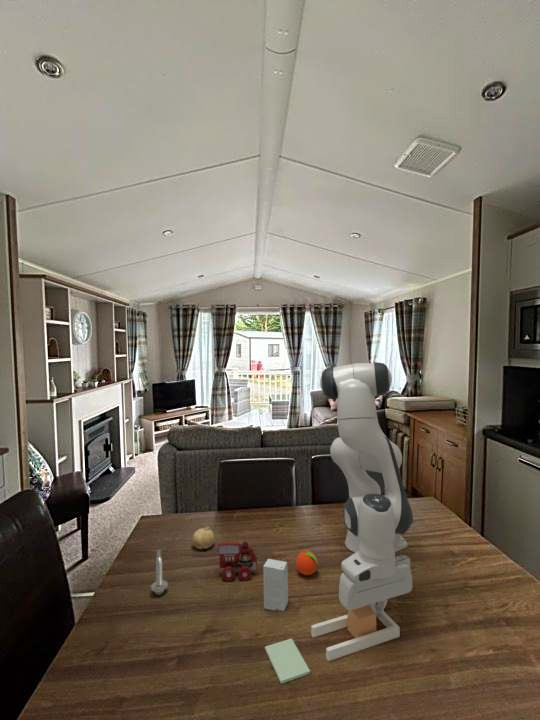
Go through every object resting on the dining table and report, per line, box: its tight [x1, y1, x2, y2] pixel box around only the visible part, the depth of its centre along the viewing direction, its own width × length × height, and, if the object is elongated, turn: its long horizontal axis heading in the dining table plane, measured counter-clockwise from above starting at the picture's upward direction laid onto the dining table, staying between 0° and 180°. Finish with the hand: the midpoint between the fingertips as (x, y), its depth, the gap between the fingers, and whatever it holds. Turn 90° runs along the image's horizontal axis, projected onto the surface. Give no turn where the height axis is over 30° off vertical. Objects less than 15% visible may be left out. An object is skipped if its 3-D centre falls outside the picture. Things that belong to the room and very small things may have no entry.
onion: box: [191, 524, 216, 551], centre depth 136 cm, size 8×8×7 cm
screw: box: [150, 549, 169, 596], centre depth 110 cm, size 13×5×5 cm
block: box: [347, 605, 377, 639], centre depth 93 cm, size 5×5×6 cm
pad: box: [264, 637, 312, 685], centre depth 87 cm, size 10×10×1 cm
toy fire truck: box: [217, 540, 258, 582], centre depth 119 cm, size 7×12×10 cm, turn 93°
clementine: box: [295, 550, 319, 576], centre depth 119 cm, size 8×7×7 cm
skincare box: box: [262, 558, 289, 612], centre depth 104 cm, size 6×4×12 cm
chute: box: [310, 610, 401, 662], centre depth 93 cm, size 20×8×3 cm, turn 111°
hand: (376, 615), depth 95 cm, fingers closed
